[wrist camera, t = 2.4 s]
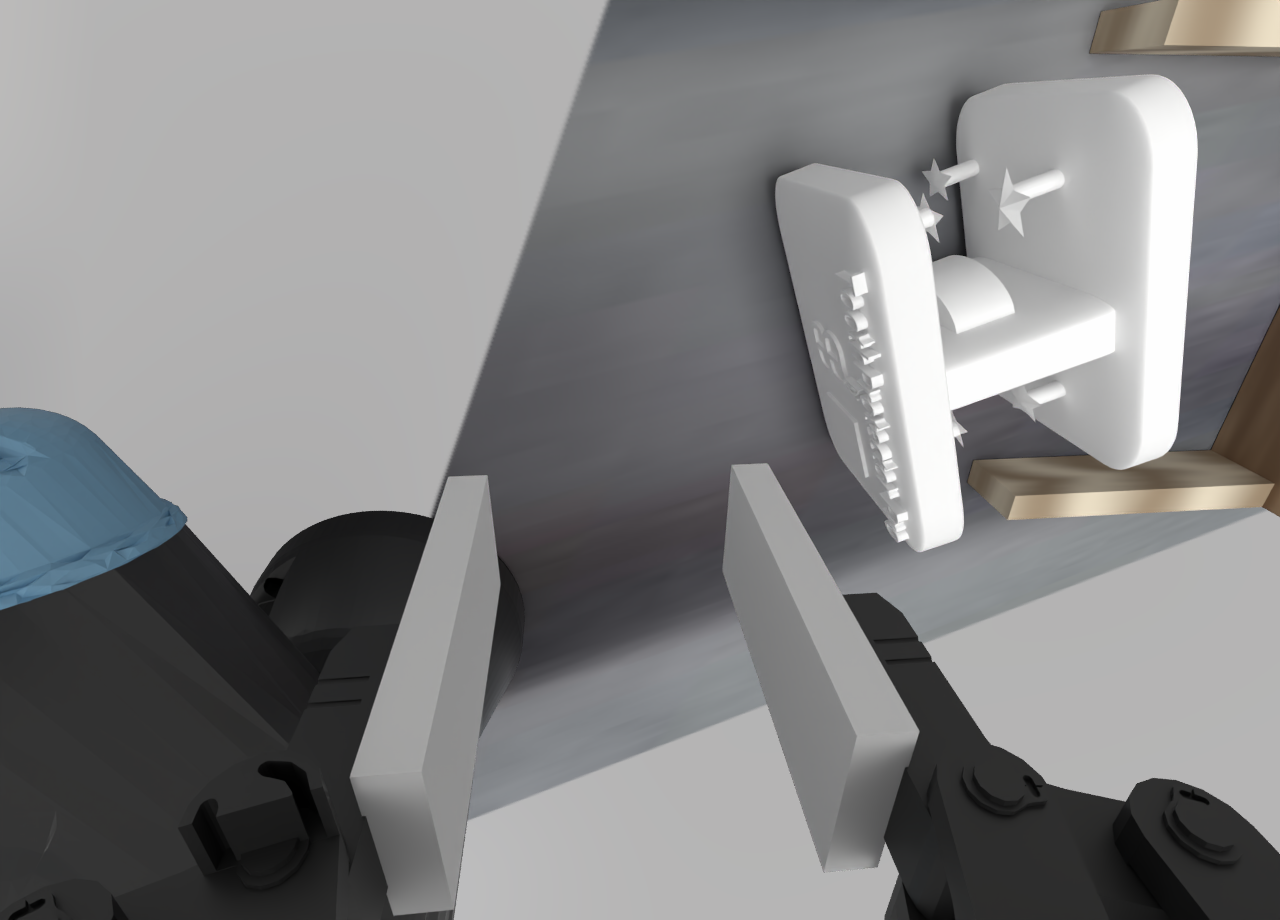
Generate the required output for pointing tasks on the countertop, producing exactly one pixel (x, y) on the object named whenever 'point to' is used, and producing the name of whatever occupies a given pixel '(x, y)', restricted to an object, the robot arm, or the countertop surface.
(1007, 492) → the wooden tray
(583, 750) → the countertop surface
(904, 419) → the cable organizer
